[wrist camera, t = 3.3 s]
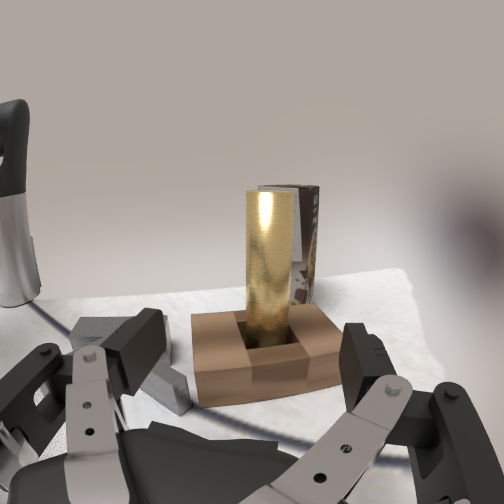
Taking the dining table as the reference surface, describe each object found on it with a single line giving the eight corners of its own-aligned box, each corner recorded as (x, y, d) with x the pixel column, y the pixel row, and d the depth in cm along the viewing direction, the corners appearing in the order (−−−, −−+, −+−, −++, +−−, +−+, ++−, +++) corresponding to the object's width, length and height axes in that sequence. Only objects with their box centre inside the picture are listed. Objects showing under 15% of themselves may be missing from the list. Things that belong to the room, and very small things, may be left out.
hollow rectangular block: (194, 347, 28) (190, 314, 27) (310, 333, 31) (314, 302, 30) (199, 407, 20) (194, 371, 18) (347, 382, 22) (356, 347, 21)
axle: (243, 358, 26) (242, 190, 22) (277, 353, 27) (285, 190, 23) (250, 381, 23) (251, 193, 19) (289, 375, 24) (301, 193, 19)
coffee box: (303, 321, 33) (311, 186, 29) (253, 313, 36) (255, 184, 31) (314, 293, 42) (321, 184, 37) (273, 288, 44) (276, 182, 39)
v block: (74, 343, 26) (66, 316, 25) (188, 342, 29) (184, 314, 28) (42, 407, 16) (26, 377, 15) (192, 415, 19) (186, 385, 18)
